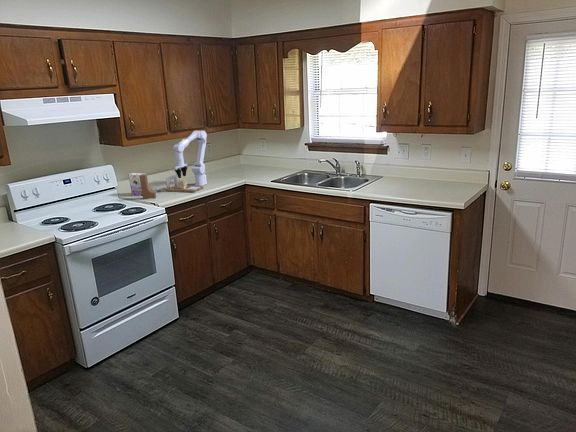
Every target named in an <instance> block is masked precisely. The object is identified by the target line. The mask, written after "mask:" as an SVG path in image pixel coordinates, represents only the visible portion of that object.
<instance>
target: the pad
mask: <svg viewBox="0 0 576 432" xmlns="http://www.w3.org/2000/svg"><path fill="white" fill-rule="evenodd" d="M198 188H200V187H190V188H188V189H186V190H196V189H198Z"/></svg>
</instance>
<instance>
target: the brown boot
mask: <svg viewBox="0 0 576 432" xmlns="http://www.w3.org/2000/svg"><path fill="white" fill-rule="evenodd" d="M139 177H140V183H141V189H142V195H141V196H142V200H149V199H148V198H153V199H156V198H157V192H156V191H155V190H151V189H150V187H149V181H148V175H147V173H143V174H142V175H140V176H139Z"/></svg>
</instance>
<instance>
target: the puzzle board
mask: <svg viewBox="0 0 576 432" xmlns="http://www.w3.org/2000/svg"><path fill="white" fill-rule="evenodd" d="M190 187H200V188H198V189H196V190H186V189H188V188H190ZM186 189H180V185H178V186H175V185H173V186H170V189H167V188H166V189H164V192H168V193H189V194H190V193H191V194H195V193H197V192H199V191H201V190H203V189H204V186H194V185H187V188H186Z"/></svg>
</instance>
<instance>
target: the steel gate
mask: <svg viewBox="0 0 576 432" xmlns="http://www.w3.org/2000/svg"><path fill="white" fill-rule="evenodd" d="M172 180H174V181H173V182H174V186H179V181H178V176H177V174H174V175H171V176H168V177H165V184H166V185H165V186H166V189H170V187H171V185H170V181H172Z"/></svg>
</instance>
